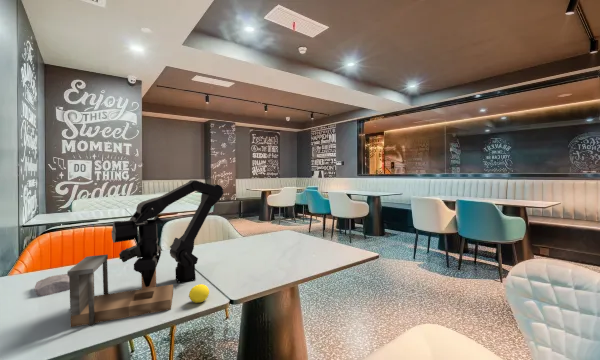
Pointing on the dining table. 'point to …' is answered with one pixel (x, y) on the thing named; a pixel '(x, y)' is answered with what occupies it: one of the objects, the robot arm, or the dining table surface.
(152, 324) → the dining table surface
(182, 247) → the robot arm
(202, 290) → the lemon
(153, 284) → the peg
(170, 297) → the socket stand
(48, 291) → the stone block
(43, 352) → the dining table surface
